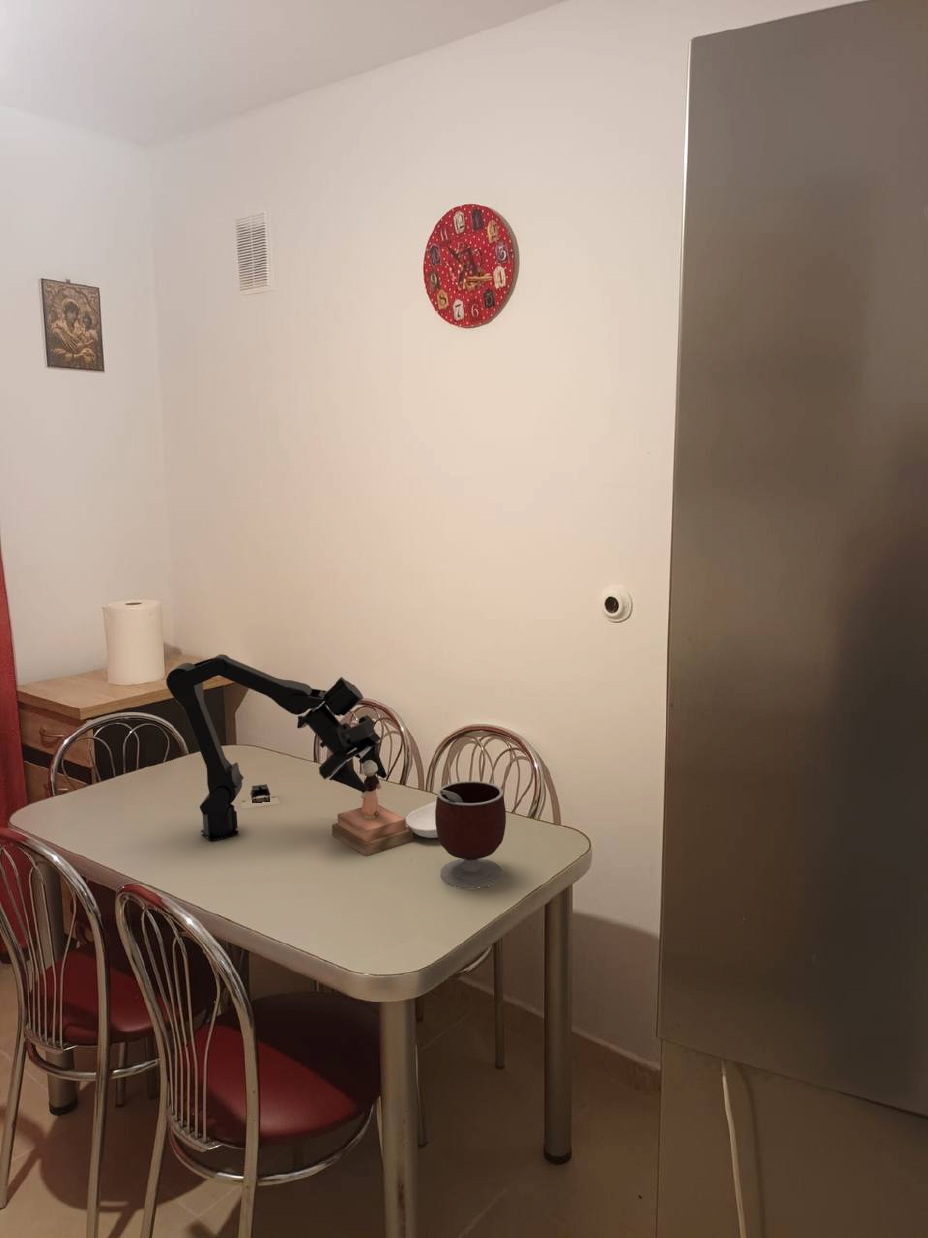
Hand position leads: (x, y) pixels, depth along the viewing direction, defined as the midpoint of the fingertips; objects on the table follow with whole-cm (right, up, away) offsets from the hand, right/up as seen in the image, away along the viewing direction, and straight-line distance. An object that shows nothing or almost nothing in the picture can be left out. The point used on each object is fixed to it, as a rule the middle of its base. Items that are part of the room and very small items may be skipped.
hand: (375, 784), depth 186 cm
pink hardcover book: (-1, -12, +2) cm, 13 cm away
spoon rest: (+16, -11, +8) cm, 21 cm away
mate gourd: (+20, -15, -16) cm, 30 cm away
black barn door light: (-31, -10, +25) cm, 41 cm away
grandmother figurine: (-1, -8, +2) cm, 8 cm away
